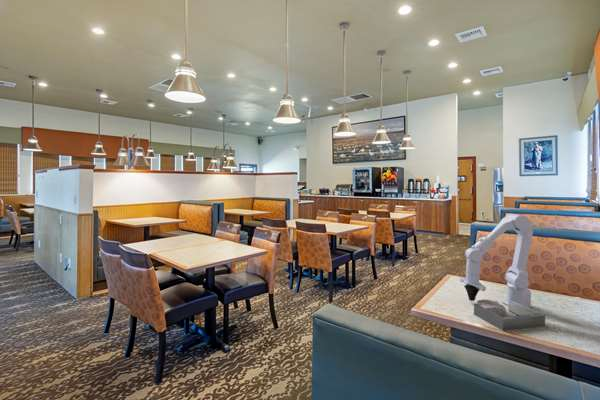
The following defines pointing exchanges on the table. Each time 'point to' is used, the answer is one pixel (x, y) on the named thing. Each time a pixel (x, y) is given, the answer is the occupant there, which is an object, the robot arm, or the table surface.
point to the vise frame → (509, 319)
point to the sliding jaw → (520, 309)
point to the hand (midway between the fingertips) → (471, 300)
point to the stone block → (493, 306)
